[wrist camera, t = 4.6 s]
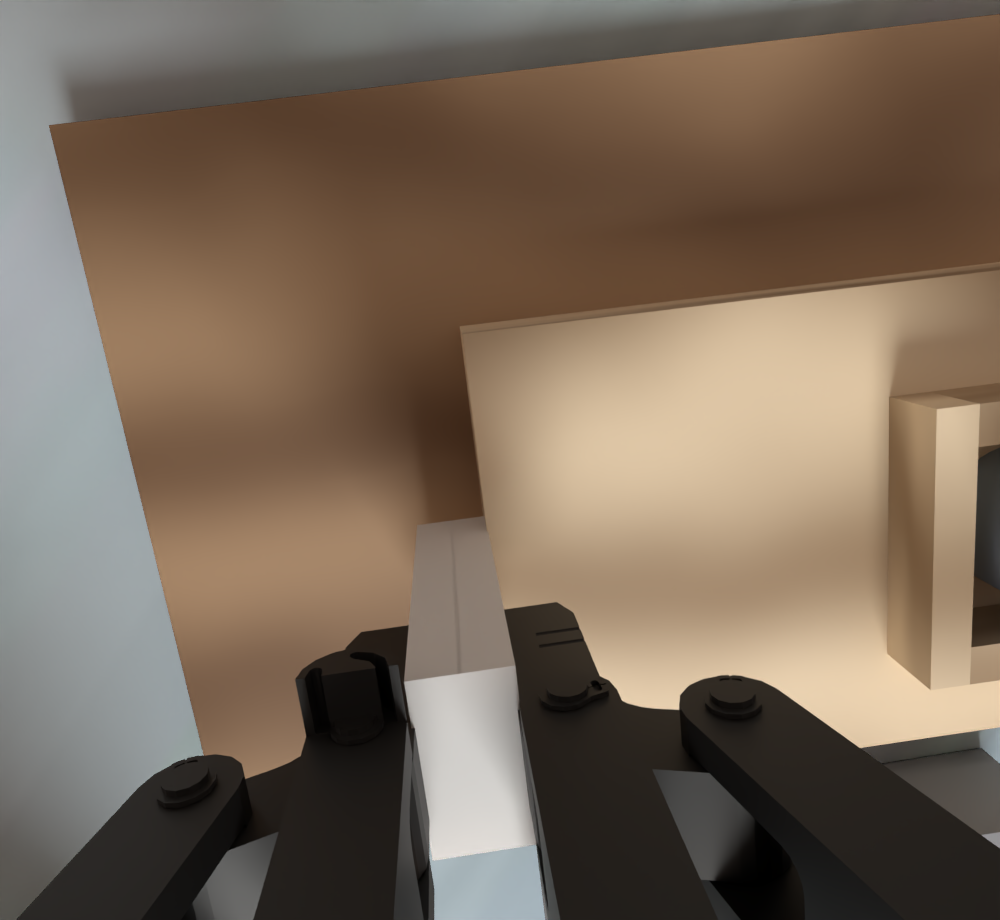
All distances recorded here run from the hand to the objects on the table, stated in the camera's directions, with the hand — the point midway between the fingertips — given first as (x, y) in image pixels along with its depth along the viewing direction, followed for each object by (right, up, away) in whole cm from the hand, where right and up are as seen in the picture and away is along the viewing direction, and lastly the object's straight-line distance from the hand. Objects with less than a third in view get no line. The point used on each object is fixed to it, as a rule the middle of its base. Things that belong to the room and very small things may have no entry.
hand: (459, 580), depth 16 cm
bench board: (+6, +4, +2) cm, 7 cm away
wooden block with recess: (+7, +2, +2) cm, 8 cm away
